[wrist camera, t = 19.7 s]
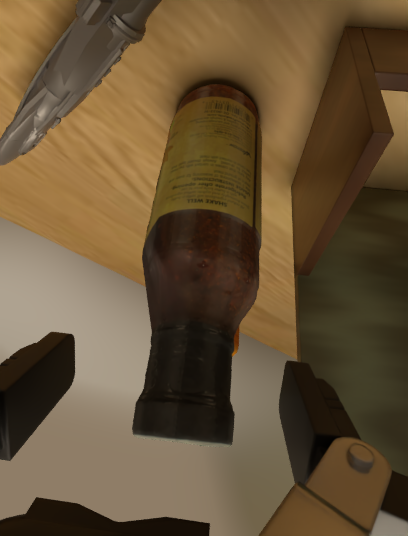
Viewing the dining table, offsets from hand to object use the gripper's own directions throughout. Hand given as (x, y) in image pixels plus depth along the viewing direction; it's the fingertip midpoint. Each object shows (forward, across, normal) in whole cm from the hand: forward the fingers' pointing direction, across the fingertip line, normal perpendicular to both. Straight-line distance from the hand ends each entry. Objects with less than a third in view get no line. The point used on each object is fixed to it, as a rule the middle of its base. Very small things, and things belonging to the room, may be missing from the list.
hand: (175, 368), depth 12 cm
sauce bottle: (+14, 0, -11) cm, 18 cm away
